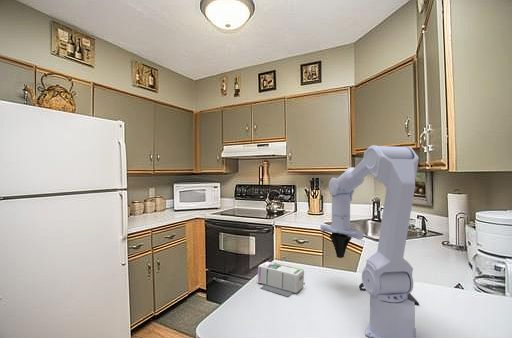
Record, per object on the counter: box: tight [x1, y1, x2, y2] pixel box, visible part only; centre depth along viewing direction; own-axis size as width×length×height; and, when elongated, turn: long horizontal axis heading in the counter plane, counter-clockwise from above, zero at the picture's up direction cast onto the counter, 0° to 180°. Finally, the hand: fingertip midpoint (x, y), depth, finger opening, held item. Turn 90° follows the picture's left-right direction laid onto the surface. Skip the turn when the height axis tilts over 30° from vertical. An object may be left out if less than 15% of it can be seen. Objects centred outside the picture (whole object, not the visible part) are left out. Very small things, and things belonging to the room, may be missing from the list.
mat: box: [260, 282, 305, 298], centre depth 86 cm, size 10×12×1 cm
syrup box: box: [257, 261, 305, 294], centre depth 86 cm, size 6×6×14 cm
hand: (340, 257), depth 84 cm, fingers closed
